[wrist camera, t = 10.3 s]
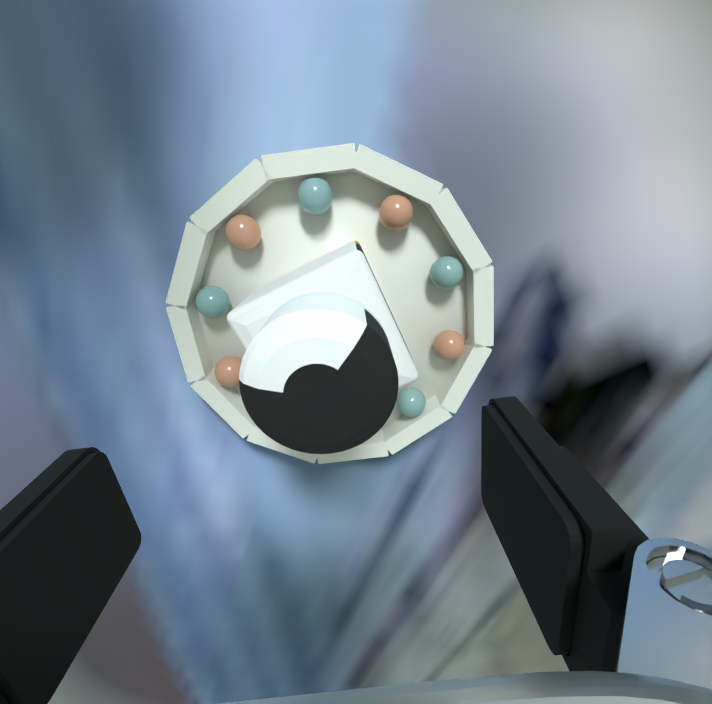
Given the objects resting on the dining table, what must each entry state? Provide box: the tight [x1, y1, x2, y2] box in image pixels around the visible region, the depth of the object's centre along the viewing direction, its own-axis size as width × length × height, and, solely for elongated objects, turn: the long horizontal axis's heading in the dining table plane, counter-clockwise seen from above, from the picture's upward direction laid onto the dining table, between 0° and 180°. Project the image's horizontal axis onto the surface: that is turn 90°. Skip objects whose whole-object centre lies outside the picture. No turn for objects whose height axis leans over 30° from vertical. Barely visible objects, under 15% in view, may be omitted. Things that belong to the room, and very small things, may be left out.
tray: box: [165, 143, 494, 464], centre depth 25 cm, size 20×20×3 cm
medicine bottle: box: [227, 240, 419, 454], centre depth 19 cm, size 7×7×12 cm
